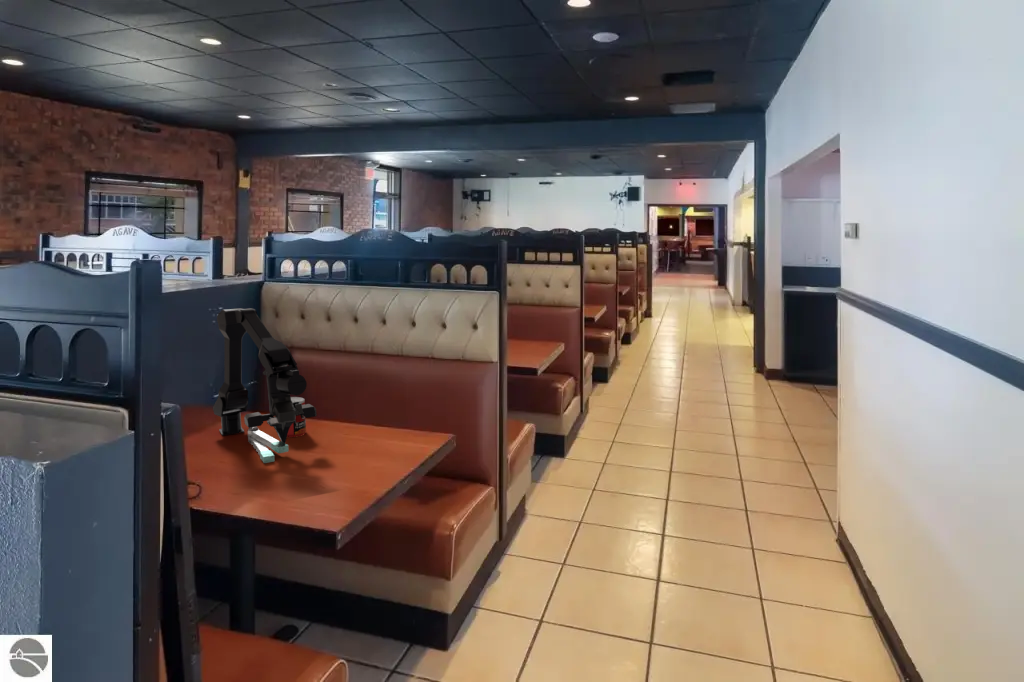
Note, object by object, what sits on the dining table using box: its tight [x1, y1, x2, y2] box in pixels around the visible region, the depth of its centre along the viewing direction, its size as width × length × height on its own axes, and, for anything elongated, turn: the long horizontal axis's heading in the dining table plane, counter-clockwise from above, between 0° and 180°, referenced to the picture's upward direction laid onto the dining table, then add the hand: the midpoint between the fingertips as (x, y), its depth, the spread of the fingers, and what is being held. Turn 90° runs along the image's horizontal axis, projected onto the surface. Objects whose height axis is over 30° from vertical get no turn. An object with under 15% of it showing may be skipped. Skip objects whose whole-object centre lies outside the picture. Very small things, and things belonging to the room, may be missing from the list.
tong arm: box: [247, 426, 290, 454], centre depth 186 cm, size 23×3×2 cm, turn 44°
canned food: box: [287, 396, 307, 438], centre depth 200 cm, size 8×8×11 cm
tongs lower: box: [247, 436, 276, 464], centre depth 185 cm, size 23×3×2 cm, turn 33°
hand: (283, 444), depth 183 cm, fingers closed
